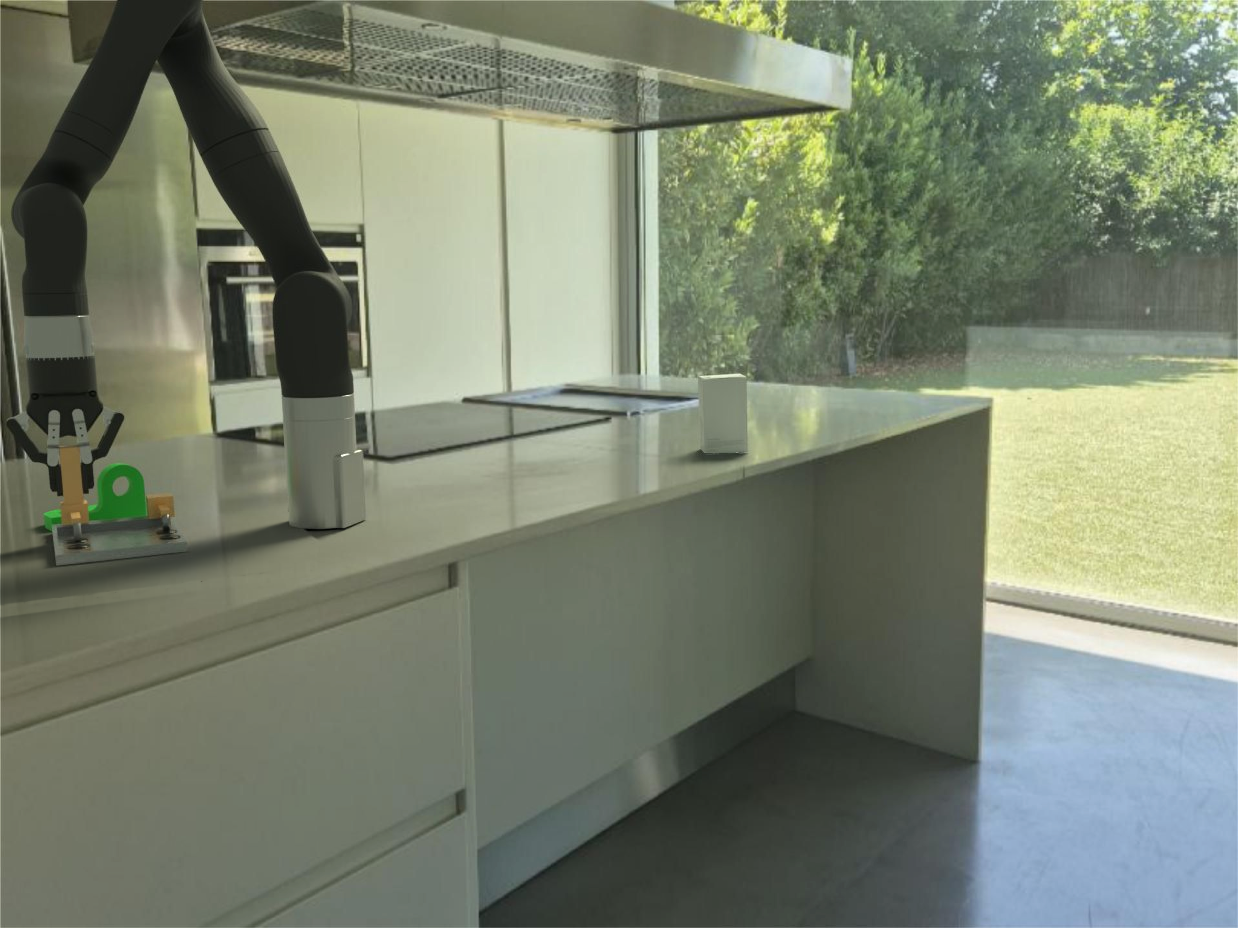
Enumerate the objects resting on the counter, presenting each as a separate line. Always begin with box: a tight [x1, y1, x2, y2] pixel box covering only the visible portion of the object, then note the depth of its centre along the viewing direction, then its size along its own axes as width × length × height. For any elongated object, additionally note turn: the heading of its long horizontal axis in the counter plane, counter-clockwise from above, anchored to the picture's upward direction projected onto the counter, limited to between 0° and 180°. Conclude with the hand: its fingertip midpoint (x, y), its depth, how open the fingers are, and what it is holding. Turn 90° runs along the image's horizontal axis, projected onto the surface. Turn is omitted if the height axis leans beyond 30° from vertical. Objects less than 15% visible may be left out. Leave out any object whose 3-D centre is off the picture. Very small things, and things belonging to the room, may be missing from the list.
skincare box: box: [697, 373, 749, 455], centre depth 205 cm, size 8×6×15 cm
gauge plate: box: [51, 492, 188, 567], centre depth 139 cm, size 14×20×5 cm
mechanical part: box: [43, 462, 147, 532], centre depth 152 cm, size 12×6×8 cm, turn 131°
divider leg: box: [58, 444, 89, 540], centre depth 137 cm, size 3×8×10 cm, turn 28°
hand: (72, 493), depth 139 cm, fingers closed on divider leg, 2 cm apart
